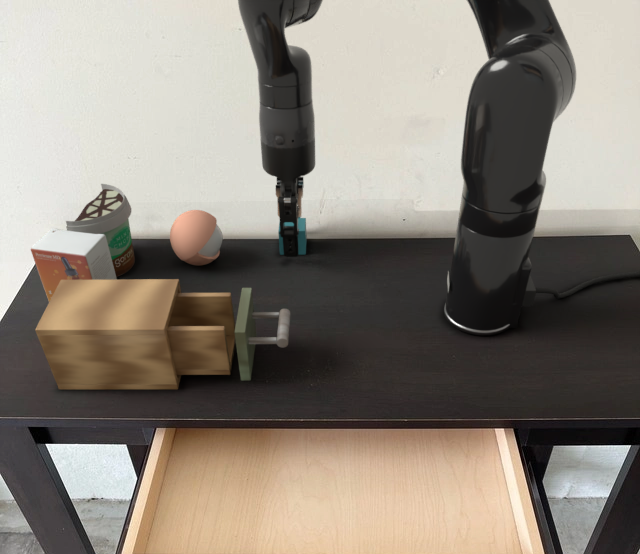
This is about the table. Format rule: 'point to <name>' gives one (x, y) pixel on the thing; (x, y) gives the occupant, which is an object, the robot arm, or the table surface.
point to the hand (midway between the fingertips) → (292, 241)
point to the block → (301, 236)
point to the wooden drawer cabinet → (110, 334)
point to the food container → (109, 225)
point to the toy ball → (196, 237)
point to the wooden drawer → (218, 333)
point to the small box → (71, 258)
